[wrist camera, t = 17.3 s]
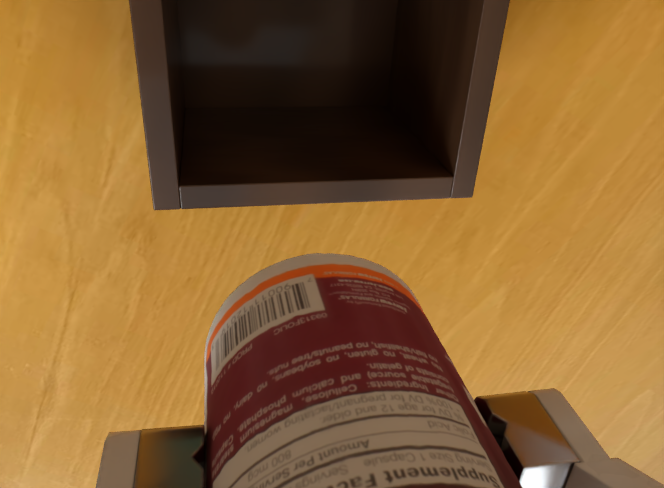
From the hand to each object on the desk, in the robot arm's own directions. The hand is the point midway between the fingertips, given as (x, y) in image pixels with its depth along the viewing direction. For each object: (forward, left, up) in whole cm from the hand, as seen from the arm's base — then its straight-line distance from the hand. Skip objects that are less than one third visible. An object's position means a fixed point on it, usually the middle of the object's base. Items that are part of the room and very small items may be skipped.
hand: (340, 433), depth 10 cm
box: (+2, +4, -25) cm, 25 cm away
